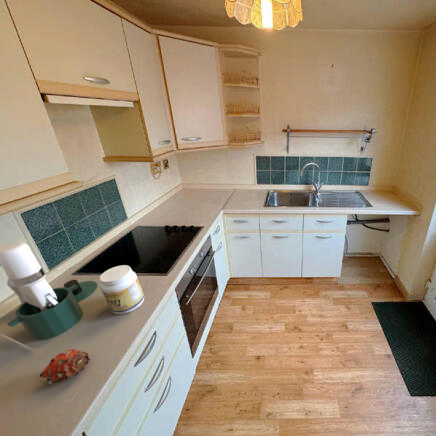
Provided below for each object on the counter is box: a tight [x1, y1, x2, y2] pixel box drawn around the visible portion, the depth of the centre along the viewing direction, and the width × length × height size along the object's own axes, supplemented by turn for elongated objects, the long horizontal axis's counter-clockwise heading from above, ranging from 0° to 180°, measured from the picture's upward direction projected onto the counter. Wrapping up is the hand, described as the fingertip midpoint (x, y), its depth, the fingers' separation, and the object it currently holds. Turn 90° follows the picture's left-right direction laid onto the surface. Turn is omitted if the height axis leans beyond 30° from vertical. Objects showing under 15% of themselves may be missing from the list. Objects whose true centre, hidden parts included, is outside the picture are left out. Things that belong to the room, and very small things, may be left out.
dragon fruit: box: [39, 349, 91, 386], centre depth 71 cm, size 8×8×12 cm
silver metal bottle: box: [4, 271, 26, 305], centre depth 93 cm, size 6×7×20 cm
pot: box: [6, 284, 84, 341], centre depth 87 cm, size 15×20×12 cm
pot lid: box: [63, 279, 99, 303], centre depth 103 cm, size 16×16×7 cm
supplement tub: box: [99, 264, 145, 315], centre depth 94 cm, size 12×12×17 cm
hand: (52, 313), depth 87 cm, fingers closed on supplement bottle, 5 cm apart
